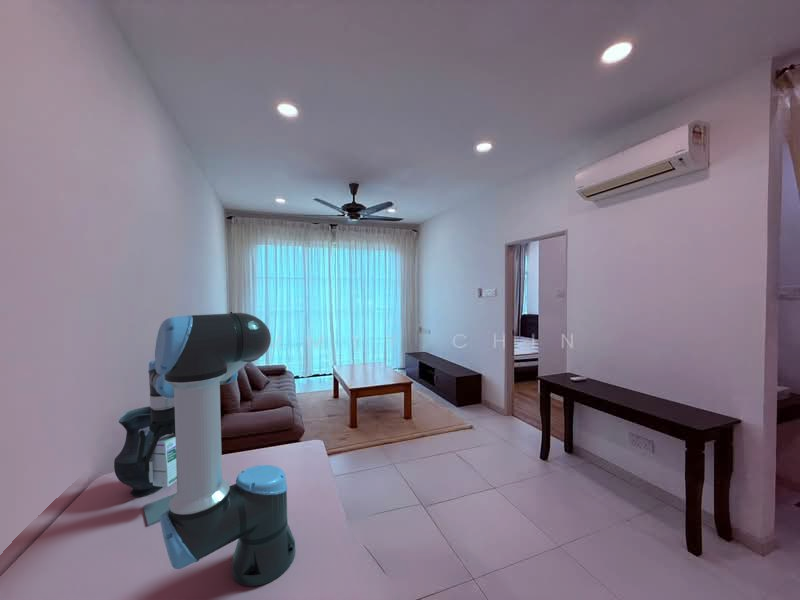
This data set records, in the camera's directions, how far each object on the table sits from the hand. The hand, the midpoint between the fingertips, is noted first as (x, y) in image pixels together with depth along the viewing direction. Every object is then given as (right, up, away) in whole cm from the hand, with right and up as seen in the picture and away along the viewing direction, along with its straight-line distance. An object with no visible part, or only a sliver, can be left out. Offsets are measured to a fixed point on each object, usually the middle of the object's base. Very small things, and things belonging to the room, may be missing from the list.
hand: (167, 474), depth 103 cm
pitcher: (-14, -11, +12) cm, 22 cm away
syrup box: (0, -2, 0) cm, 2 cm away
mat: (0, -11, 0) cm, 11 cm away
